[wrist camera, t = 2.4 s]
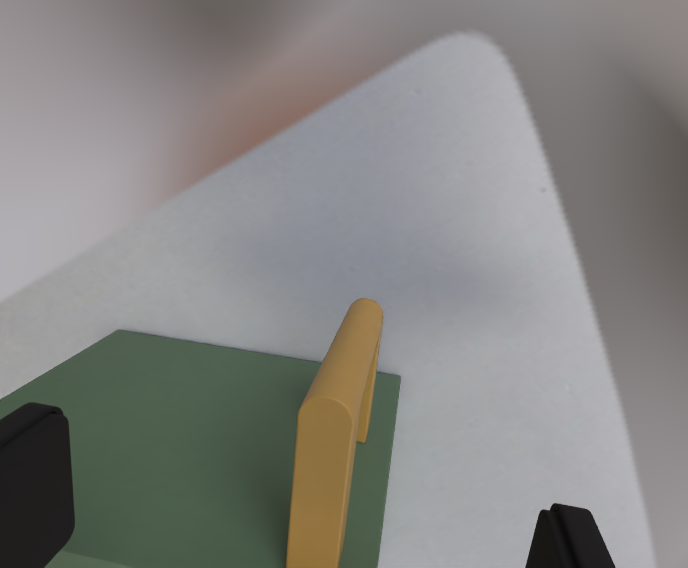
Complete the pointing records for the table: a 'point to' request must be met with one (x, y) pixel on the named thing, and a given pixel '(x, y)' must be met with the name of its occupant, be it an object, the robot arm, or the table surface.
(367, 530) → the cupboard door
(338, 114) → the table surface
